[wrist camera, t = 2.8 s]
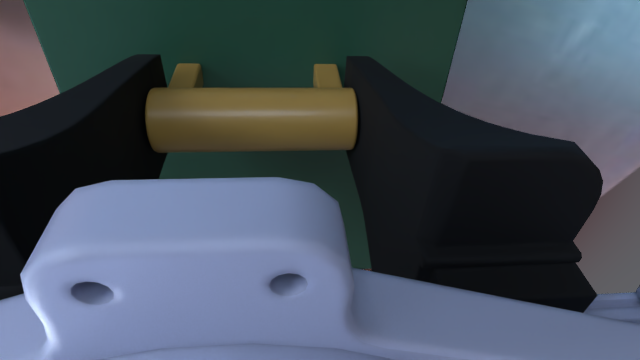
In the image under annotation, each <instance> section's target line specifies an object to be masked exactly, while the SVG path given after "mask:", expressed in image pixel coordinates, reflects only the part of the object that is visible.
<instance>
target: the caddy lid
mask: <svg viewBox="0 0 640 360" xmlns="http://www.w3.org/2000/svg"><path fill="white" fill-rule="evenodd" d="M23 1H24V4H25V6H26V9H27V11H28V14H29V16H30V19H31V21H32V24H33V26H34V29H35V31H36V34H37V36H38V39H39V41H40V44H41V47H42V49H43V52H44V54H45V57H46V59H47V62H48V64H49V67H50V69H51V72H52V74H53V77H54V79H55V82H56V84H57V87H58V90H59V92H60V94H61V93H63V92H65V91H67V90H69V89H71V88H73V87H75V86H77V85H79V84H81V83H83V82H84V81H86V80H88V79H90V78H92V77H94V76H95V75H97V74H99V73H101V72H103V71H104V70H106V69H108V68H110V67H111V66H113V65H115V64H117V63H119V62H120V61H122V60H124V59H126V58H128V57H131V56H133V55H136V54H160V55H161V60H162V65H163V69H164V74H165V79H166V84H167V88H152V89H151V90H150V91H149V93H148V95H147V99H146V106H145V123H146V131H147V136H148V139H149V142H150V145H151V147H152V149H153V150H154V151H155V152H158V153H167V156H166V159H165V162H164V165H163V168H162V171H161V174H160V177H159V179H199V178H252V177H281V178H286V179H292V180H297V181H303V182H308V183H314V184H315V185H317V186H318V187H319V188H321V189H322V190H323V191H325V192H326V193H327V194H329V195H330V196H331V197H332V198H334V199H335V200H336V201H338V203H339V207H340V211H341V214H342V218H343V222H344V226H345V232H346V237H347V243H348V249H349V255H350V260H351V266H352V268H357V269H371V262H370V255H369V248H368V241H367V234H366V228H365V222H364V216H363V211H362V206H361V202H360V198H359V195H358V191H357V188H356V185H355V181H354V178H353V174H352V171H351V167H350V164H349V160H348V157H347V153H346V150H352V149H353V148H354V146H355V143H356V139H357V132H358V104H357V97H356V94H355V91H354V89H353V88H344V79H345V69H346V58H347V56H369V57H371V58H373V59H374V60H376V61H377V62H378V63H380V64H381V65H382V66H384V67H385V68H387V69H388V70H389V71H391V72H392V73H393V74H395V75H396V76H397V77H399V78H400V79H402V80H403V81H404V82H406V83H407V84H409V85H410V86H412V87H413V88H415V89H417V90H418V91H420V92H422V93H423V94H425V95H426V96H428V97H430V98H432V99H434V100H435V101H437V102H439V103H441V101H442V97H443V93H444V90H445V86H446V82H447V78H448V74H449V70H450V66H451V63H452V59H453V55H454V51H455V47H456V43H457V40H458V36H459V32H460V28H461V24H462V20H463V16H464V13H465V9H466V5H467V1H468V0H23Z"/></svg>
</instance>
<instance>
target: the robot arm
mask: <svg viewBox="0 0 640 360" xmlns="http://www.w3.org/2000/svg"><path fill="white" fill-rule="evenodd" d="M152 88H167V84H166V79H165V74H164V69H163V65H162V60H161V55H160V54H136V55H133V56H131V57H128V58H126V59H124V60H122V61H120V62H119V63H117V64H115V65H113V66H111V67H110V68H108V69H106V70H104V71H103V72H101V73H99V74H97V75H95V76H94V77H92V78H90V79H88V80H86V81H84V82H83V83H81V84H79V85H77V86H75V87H73V88H71V89H69V90H67V91H65V92H63V93H61V94H59V95H57V96H54V97H52V98H50V99H48V100H45V101H43V102H41V103H38V104H36V105H33V106H30V107H28V108H25V109H23V110H20V111H17V112H14V113H11V114H8V115H5V116H1V117H0V360H640V285H639V287H638V288H637V290H636V292H633V293H632V292H631V293H612V294H596V292H595V291H594V290H593V288H592V287H591V285H590V284H589V282H588V281H587V279H586V278H585V276H584V275H583V273H582V272H581V270H580V269H579V267H578V266H577V264H576V263H575V262H579V261H580V260H581V258H582V256H581V252H580V251H579V249H578V248H577V247H576V245H575V244H574V242H573V240H574V238H575V237H576V235H577V234H578V232H579V231H580V229H581V228H582V226H583V225H584V223H585V222H586V220H587V219H588V217H589V216H590V214H591V213H592V211H593V210H594V208H595V205H596V204H597V201H598V200H599V198H600V196H601V192H602V185H603V180H602V177H601V173H600V170H599V169H598V168H597V167H596V165H595V164H594V163H593V162H592V161H591V160H590V159H589V158H588V156H587V155H586V154H585V153H584V152H583V151H582V150H581V149H580V148H579V146H578V145H577V144H576V143H575V142H571V141H566V140H560V139H555V138H549V137H544V136H538V135H533V134H528V133H524V132H520V131H516V130H512V129H508V128H504V127H501V126H498V125H494V124H491V123H488V122H485V121H482V120H479V119H477V118H474V117H471V116H468V115H466V114H463V113H461V112H458V111H456V110H454V109H452V108H450V107H448V106H446V105H443V104H441V103H439V102H437V101H435V100H434V99H432V98H430V97H428V96H426V95H425V94H423V93H422V92H420V91H418V90H417V89H415V88H413V87H412V86H410V85H409V84H407V83H406V82H404V81H403V80H402V79H400V78H399V77H397V76H396V75H395V74H393V73H392V72H391V71H389V70H388V69H387V68H385V67H384V66H382V65H381V64H380V63H378V62H377V61H376V60H374V59H373V58H371V57H369V56H347V58H346V69H345V79H344V88H353V89H354V91H355V94H356V97H357V104H358V132H357V139H356V143H355V146H354V148H353V149H352V150H346V153H347V157H348V160H349V164H350V167H351V171H352V174H353V178H354V181H355V185H356V188H357V191H358V195H359V198H360V202H361V206H362V211H363V216H364V222H365V228H366V234H367V241H368V248H369V255H370V262H371V269H372V271H367V270H362V269H357V268H352V266H351V260H350V255H349V249H348V243H347V237H346V232H345V226H344V222H343V218H342V214H341V211H340V207H339V203H338V201H336V200H335V199H334V198H332V197H331V196H330V195H329V194H327V193H326V192H325V191H323V190H322V189H321V188H319V187H318V186H317V185H315V184H314V183H308V182H303V181H297V180H292V179H286V178H281V177H252V178H199V179H159V177H160V174H161V171H162V168H163V165H164V162H165V159H166V156H167V153H158V152H155V151H154V150H153V149H152V147H151V145H150V142H149V139H148V136H147V131H146V123H145V106H146V99H147V95H148V93H149V91H150V90H151V89H152Z"/></svg>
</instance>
